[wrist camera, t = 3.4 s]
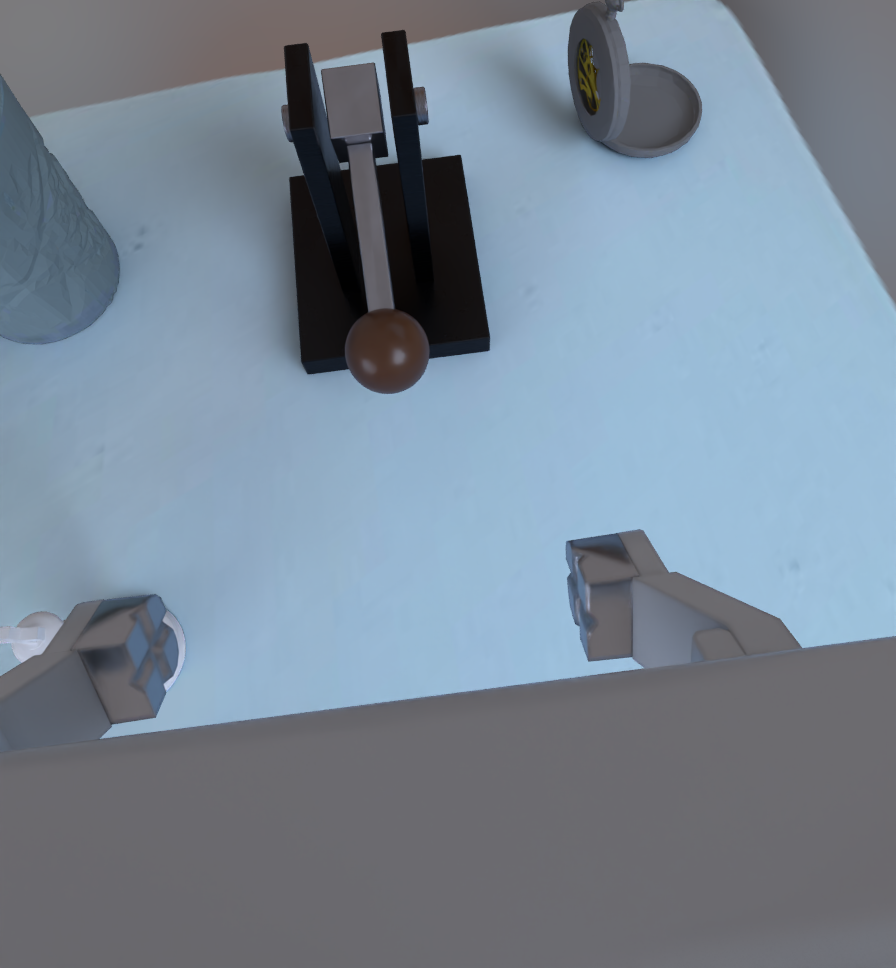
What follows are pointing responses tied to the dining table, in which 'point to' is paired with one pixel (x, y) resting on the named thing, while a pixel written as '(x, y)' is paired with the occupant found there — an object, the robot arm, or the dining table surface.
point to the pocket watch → (626, 89)
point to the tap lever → (371, 236)
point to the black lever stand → (407, 221)
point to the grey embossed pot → (46, 240)
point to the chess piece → (44, 626)
